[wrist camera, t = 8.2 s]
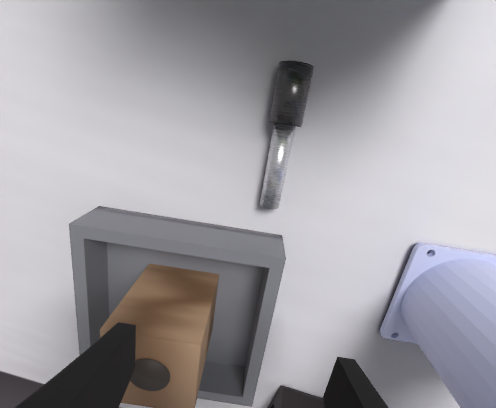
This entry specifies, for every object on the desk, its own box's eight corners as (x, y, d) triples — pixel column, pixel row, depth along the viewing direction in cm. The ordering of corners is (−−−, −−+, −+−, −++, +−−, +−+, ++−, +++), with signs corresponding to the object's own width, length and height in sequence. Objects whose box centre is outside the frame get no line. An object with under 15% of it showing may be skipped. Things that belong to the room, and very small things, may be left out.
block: (219, 274, 19) (200, 346, 13) (212, 329, 20) (192, 415, 14) (149, 263, 19) (98, 331, 13) (147, 319, 20) (102, 401, 14)
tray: (281, 235, 18) (285, 258, 15) (252, 368, 22) (251, 406, 19) (99, 206, 18) (68, 223, 15) (104, 345, 22) (81, 379, 19)
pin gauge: (278, 64, 15) (280, 58, 13) (310, 70, 15) (316, 64, 13) (255, 200, 17) (254, 209, 16) (282, 204, 17) (284, 214, 16)
